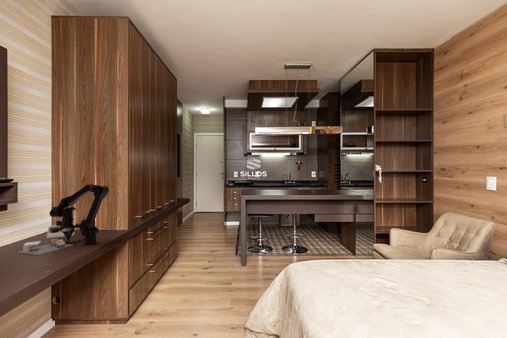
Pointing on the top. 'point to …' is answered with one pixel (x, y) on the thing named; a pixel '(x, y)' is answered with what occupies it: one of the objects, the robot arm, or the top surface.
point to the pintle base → (41, 248)
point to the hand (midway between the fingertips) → (67, 240)
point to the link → (57, 242)
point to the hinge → (58, 234)
